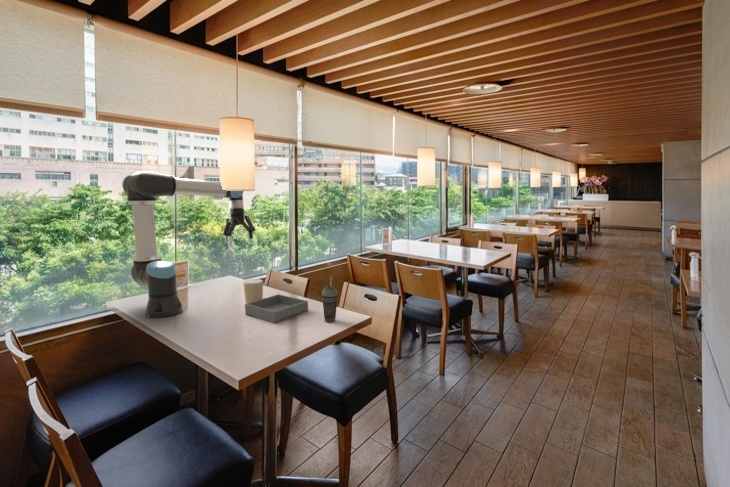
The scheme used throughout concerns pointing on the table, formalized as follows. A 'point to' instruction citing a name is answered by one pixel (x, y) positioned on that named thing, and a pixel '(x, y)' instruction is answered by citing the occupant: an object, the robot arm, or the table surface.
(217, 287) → the table surface
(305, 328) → the table surface
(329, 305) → the beverage cup
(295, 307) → the grey bin
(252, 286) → the coffee cup
